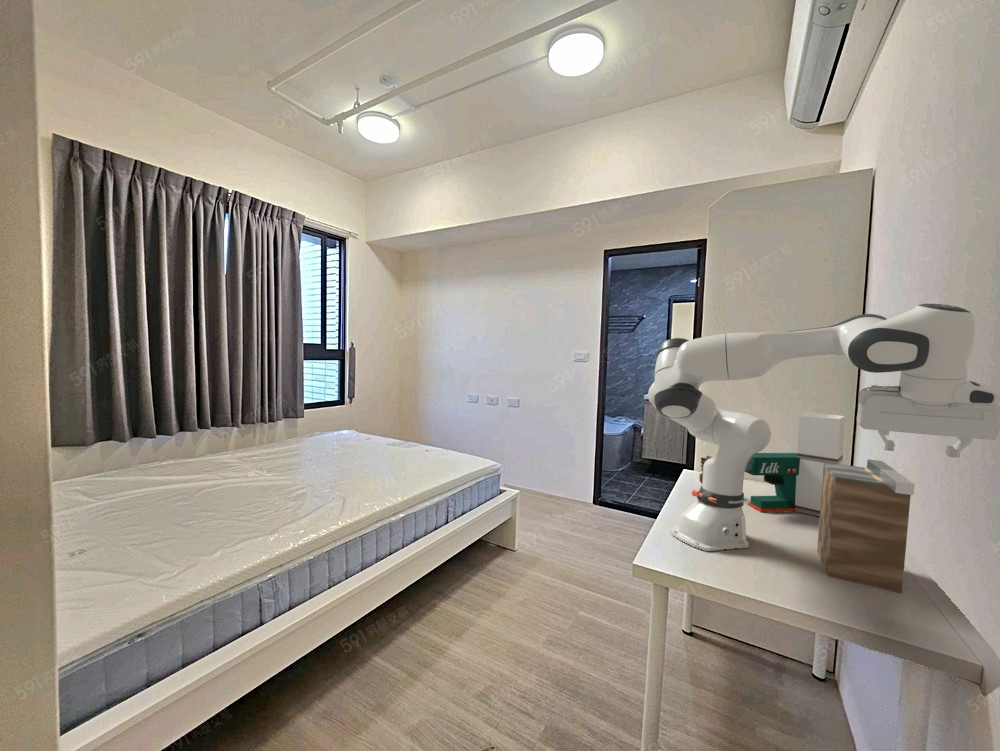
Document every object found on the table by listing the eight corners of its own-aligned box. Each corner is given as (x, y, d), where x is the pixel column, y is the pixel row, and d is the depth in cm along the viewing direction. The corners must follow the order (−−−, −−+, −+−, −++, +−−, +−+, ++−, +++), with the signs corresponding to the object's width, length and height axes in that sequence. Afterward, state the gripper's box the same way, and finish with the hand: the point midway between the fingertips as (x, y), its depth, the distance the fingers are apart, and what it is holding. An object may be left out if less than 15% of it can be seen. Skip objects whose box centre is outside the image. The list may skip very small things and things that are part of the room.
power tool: (726, 513, 145) (729, 458, 144) (714, 505, 152) (717, 452, 151) (808, 512, 148) (812, 457, 147) (792, 504, 155) (796, 452, 154)
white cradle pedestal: (839, 512, 148) (844, 416, 146) (834, 520, 140) (839, 418, 139) (801, 503, 156) (805, 412, 154) (794, 510, 149) (799, 415, 147)
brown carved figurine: (711, 490, 169) (713, 454, 168) (716, 495, 164) (718, 458, 163) (696, 489, 170) (698, 453, 169) (701, 493, 165) (703, 457, 164)
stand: (901, 593, 98) (911, 486, 96) (827, 576, 105) (835, 475, 103) (881, 564, 112) (889, 469, 110) (817, 550, 119) (823, 461, 117)
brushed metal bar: (913, 495, 90) (914, 484, 90) (895, 492, 91) (896, 481, 91) (881, 470, 110) (882, 461, 110) (866, 468, 111) (867, 459, 111)
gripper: (863, 389, 82) (855, 452, 86) (1016, 396, 72) (1000, 467, 75) (857, 380, 87) (849, 440, 91) (999, 386, 77) (984, 453, 80)
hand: (919, 452), depth 83 cm, fingers open, 8 cm apart
